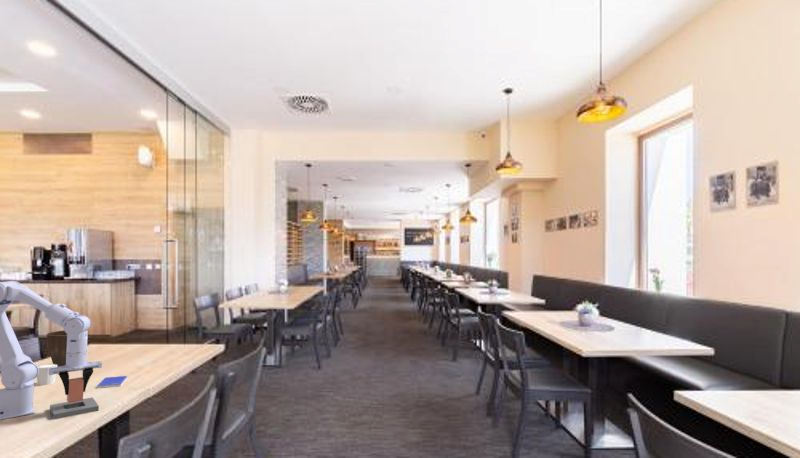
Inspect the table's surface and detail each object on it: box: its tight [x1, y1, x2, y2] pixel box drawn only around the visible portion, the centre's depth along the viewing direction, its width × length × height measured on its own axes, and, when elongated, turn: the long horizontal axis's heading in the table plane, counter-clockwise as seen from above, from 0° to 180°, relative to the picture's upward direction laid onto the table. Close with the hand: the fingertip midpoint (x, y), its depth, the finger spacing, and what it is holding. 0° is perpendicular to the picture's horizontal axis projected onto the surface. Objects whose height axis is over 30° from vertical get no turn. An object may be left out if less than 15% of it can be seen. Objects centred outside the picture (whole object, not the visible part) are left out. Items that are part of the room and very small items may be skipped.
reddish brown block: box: [66, 376, 84, 403], centre depth 151 cm, size 4×4×7 cm
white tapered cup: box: [36, 363, 57, 386], centre depth 181 cm, size 7×7×7 cm
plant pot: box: [46, 330, 67, 367], centre depth 206 cm, size 15×15×16 cm
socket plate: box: [49, 396, 100, 420], centre depth 151 cm, size 12×12×2 cm
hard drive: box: [96, 375, 128, 389], centre depth 182 cm, size 2×8×12 cm
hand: (75, 392), depth 151 cm, fingers closed on reddish brown block, 4 cm apart
